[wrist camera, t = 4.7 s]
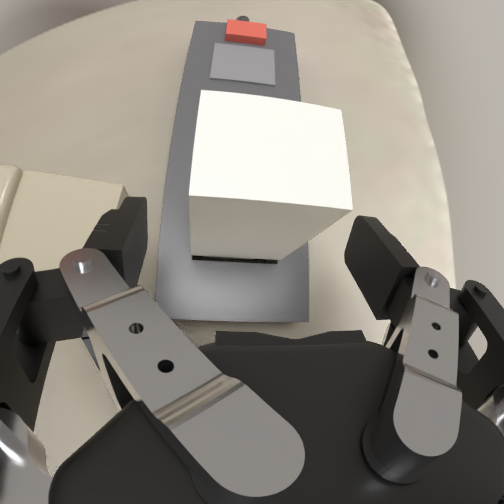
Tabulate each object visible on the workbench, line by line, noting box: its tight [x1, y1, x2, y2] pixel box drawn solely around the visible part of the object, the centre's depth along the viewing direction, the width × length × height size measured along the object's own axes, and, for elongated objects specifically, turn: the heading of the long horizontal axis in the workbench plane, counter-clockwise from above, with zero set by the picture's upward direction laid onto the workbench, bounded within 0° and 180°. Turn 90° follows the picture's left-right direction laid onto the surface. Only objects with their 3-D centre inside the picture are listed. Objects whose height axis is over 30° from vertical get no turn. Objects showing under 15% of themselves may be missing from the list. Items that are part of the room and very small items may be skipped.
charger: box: [189, 90, 353, 260], centre depth 14 cm, size 5×4×12 cm
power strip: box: [155, 16, 309, 322], centre depth 20 cm, size 8×26×4 cm, turn 179°
